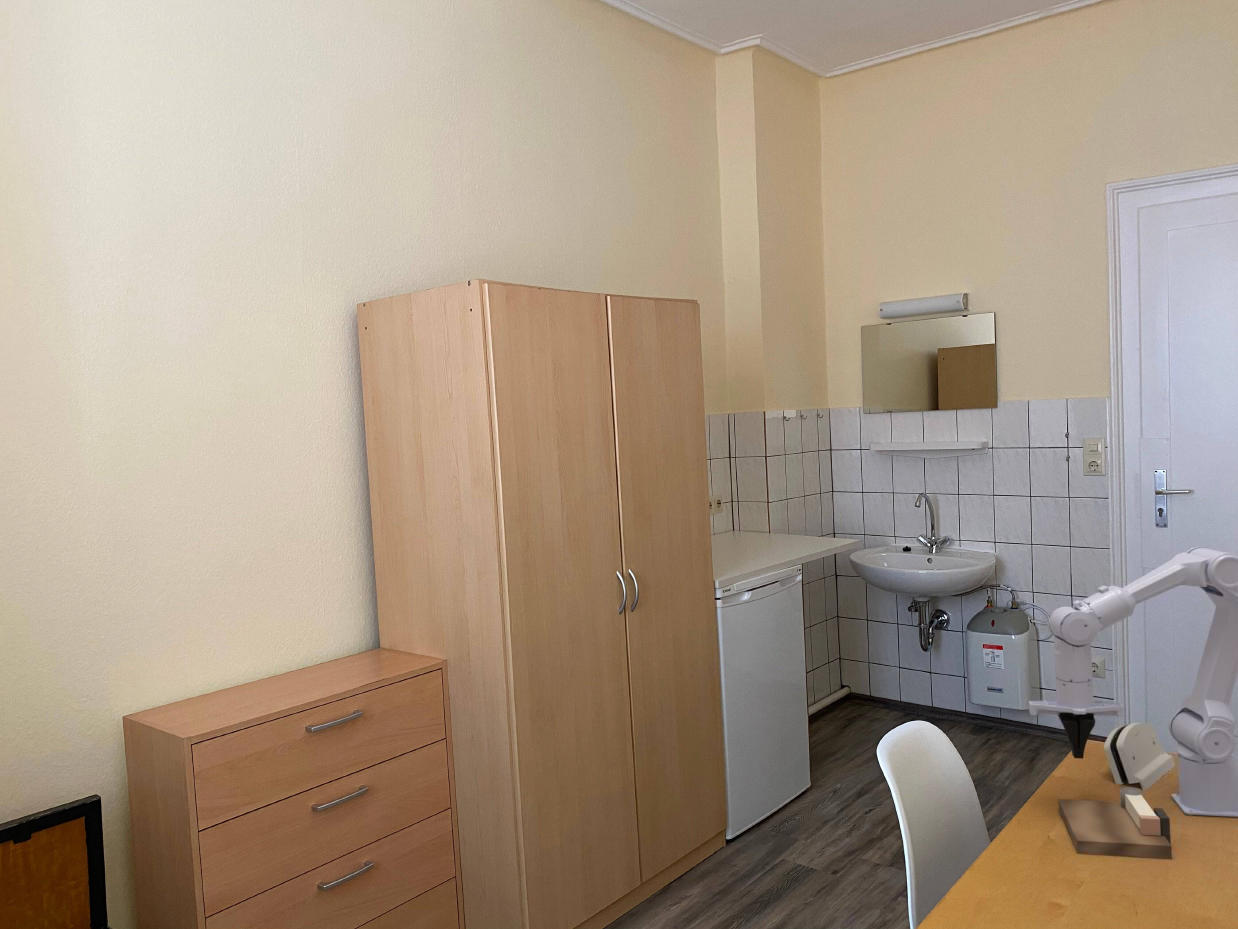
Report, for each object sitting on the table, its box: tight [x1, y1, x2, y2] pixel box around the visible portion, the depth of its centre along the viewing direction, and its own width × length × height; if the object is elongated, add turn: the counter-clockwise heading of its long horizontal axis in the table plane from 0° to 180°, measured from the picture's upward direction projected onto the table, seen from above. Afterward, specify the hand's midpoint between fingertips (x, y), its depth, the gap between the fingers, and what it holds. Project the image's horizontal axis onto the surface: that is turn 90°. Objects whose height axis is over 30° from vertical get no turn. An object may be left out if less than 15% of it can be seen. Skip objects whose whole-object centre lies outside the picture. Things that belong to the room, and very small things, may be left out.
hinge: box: [1103, 722, 1177, 791], centre depth 174 cm, size 17×5×10 cm, turn 132°
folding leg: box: [1119, 786, 1161, 836], centre depth 150 cm, size 13×3×3 cm, turn 165°
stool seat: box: [1057, 798, 1173, 860], centre depth 150 cm, size 14×16×5 cm
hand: (1077, 756), depth 159 cm, fingers closed
